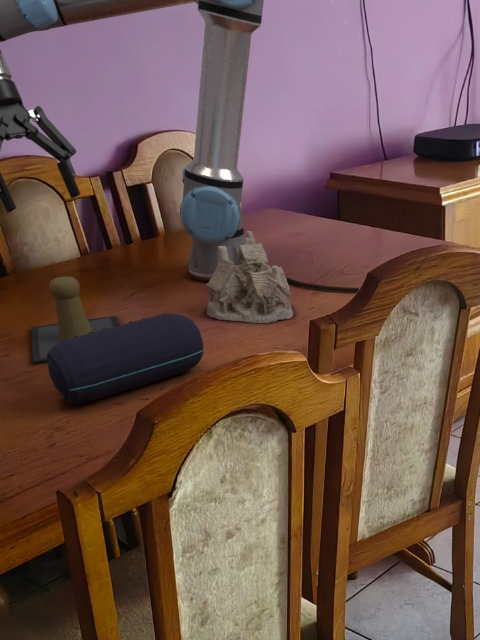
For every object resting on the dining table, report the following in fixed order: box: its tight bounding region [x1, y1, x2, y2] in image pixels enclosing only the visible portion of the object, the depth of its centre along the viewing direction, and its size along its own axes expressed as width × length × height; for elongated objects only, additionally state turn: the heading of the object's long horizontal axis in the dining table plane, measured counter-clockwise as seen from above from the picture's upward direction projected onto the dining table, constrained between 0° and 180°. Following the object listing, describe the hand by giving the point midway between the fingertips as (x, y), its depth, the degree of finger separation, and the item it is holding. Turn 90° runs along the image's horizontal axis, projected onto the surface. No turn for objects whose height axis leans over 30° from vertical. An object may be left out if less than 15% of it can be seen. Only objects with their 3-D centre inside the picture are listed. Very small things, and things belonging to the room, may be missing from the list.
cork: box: [48, 275, 92, 341], centre depth 155 cm, size 6×6×11 cm
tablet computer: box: [30, 315, 120, 365], centre depth 158 cm, size 16×20×1 cm
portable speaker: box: [47, 313, 204, 405], centre depth 136 cm, size 25×10×10 cm, turn 133°
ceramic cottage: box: [206, 230, 294, 324], centre depth 165 cm, size 16×16×15 cm
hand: (44, 203), depth 161 cm, fingers open, 13 cm apart
